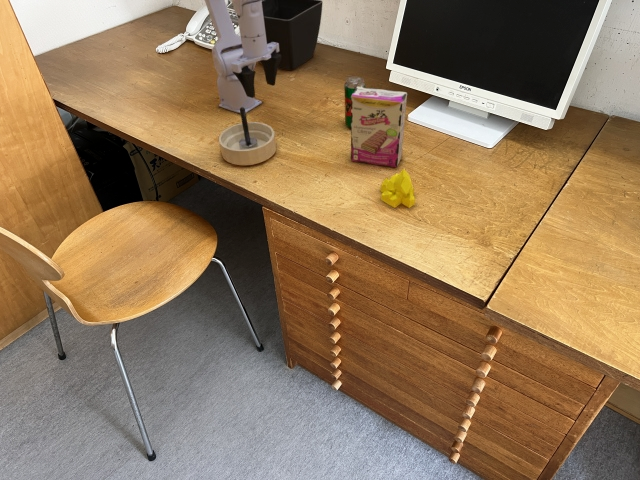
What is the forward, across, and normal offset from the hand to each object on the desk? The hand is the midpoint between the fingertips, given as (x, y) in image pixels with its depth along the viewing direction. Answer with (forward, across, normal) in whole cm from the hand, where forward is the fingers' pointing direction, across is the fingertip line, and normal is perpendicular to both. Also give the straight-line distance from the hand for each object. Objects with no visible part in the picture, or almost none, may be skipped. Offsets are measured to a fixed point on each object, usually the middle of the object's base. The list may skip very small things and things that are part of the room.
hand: (261, 90), depth 117 cm
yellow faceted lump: (+11, -8, -43) cm, 45 cm away
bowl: (+10, -11, -4) cm, 16 cm away
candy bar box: (+11, +2, -32) cm, 34 cm away
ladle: (+10, -11, -4) cm, 15 cm away
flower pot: (+10, +37, +23) cm, 44 cm away
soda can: (+11, +13, -19) cm, 25 cm away
